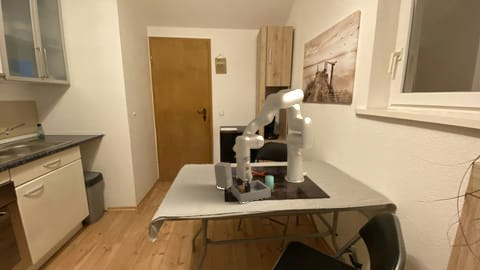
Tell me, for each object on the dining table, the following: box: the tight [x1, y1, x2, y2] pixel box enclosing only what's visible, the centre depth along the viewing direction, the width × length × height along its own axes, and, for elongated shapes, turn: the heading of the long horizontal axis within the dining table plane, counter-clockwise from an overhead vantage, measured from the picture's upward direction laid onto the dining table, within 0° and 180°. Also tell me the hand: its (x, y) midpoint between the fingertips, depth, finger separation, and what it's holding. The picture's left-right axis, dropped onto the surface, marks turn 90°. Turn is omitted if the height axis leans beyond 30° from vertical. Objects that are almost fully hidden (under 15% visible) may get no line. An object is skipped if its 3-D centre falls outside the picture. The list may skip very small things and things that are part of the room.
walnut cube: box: [238, 185, 249, 194], centre depth 117 cm, size 5×5×5 cm
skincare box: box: [213, 161, 234, 189], centre depth 128 cm, size 8×7×16 cm
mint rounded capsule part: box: [264, 175, 275, 190], centre depth 128 cm, size 5×5×7 cm
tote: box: [230, 179, 272, 203], centre depth 119 cm, size 18×14×5 cm
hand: (243, 188), depth 117 cm, fingers open, 9 cm apart
